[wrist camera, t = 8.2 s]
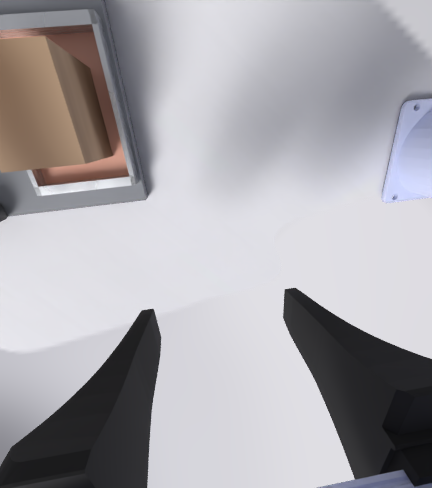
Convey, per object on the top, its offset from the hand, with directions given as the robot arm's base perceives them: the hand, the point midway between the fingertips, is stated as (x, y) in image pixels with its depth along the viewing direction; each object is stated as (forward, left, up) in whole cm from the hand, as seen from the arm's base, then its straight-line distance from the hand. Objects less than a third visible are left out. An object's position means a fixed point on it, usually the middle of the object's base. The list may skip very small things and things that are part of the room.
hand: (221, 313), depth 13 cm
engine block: (+8, -11, -8) cm, 15 cm away
